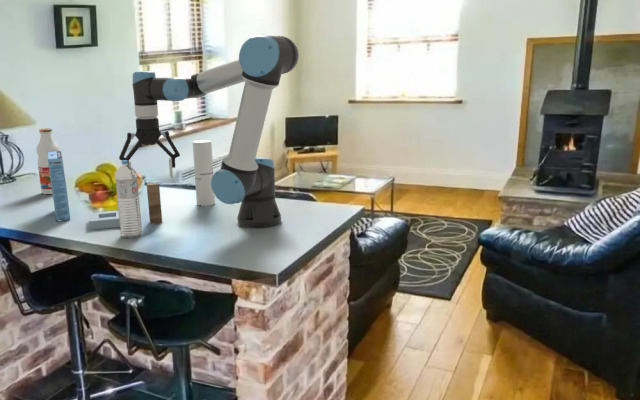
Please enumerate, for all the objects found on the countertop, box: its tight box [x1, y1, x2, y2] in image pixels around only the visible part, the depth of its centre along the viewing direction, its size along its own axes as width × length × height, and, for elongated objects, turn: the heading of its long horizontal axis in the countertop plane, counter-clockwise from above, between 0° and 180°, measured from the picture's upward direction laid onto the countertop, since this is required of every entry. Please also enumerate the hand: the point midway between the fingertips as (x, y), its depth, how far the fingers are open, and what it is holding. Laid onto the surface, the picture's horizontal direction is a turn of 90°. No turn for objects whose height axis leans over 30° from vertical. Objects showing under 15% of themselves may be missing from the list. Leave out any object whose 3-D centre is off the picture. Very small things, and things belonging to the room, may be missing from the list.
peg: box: [145, 181, 163, 225], centre depth 213 cm, size 4×4×14 cm
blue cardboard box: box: [48, 150, 71, 221], centre depth 224 cm, size 20×5×23 cm, turn 23°
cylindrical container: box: [192, 139, 216, 207], centre depth 236 cm, size 7×7×25 cm
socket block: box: [88, 210, 120, 231], centre depth 213 cm, size 12×12×3 cm
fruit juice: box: [35, 128, 60, 195], centre depth 262 cm, size 9×9×28 cm
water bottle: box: [114, 160, 143, 239], centre depth 196 cm, size 7×7×25 cm
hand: (151, 178), depth 211 cm, fingers open, 13 cm apart
